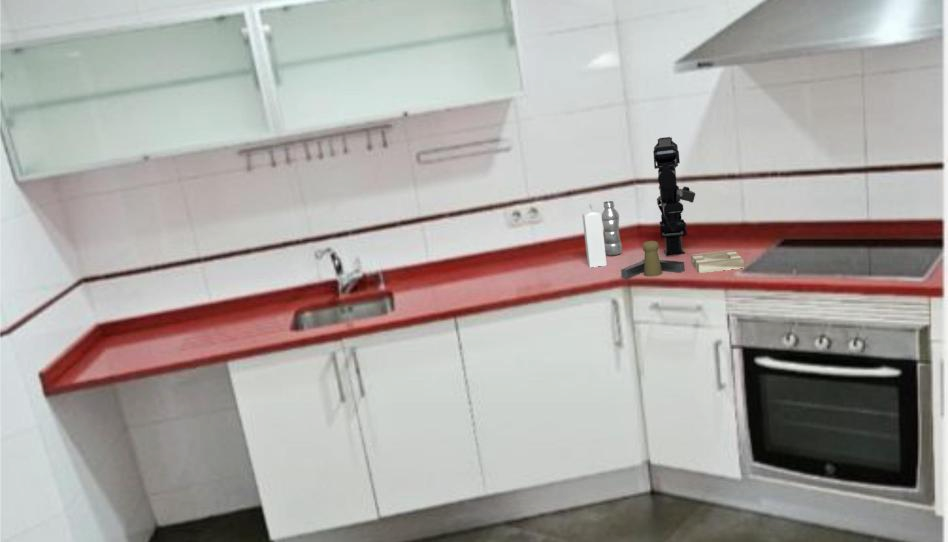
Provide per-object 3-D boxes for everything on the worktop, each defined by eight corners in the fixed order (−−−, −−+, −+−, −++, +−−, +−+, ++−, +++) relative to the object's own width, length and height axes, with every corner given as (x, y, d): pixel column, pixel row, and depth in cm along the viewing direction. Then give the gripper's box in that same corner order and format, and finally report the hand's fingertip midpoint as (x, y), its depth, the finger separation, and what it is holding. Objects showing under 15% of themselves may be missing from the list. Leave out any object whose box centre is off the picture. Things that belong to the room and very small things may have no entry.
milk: (590, 268, 287) (582, 207, 282) (587, 264, 293) (580, 204, 288) (607, 265, 287) (600, 204, 282) (604, 262, 293) (597, 202, 288)
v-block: (619, 270, 278) (618, 262, 277) (679, 263, 275) (679, 255, 275) (622, 279, 267) (621, 270, 266) (685, 272, 264) (684, 263, 264)
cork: (661, 270, 270) (658, 238, 268) (663, 275, 265) (660, 242, 262) (642, 272, 271) (639, 240, 269) (644, 277, 265) (641, 244, 263)
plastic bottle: (609, 252, 306) (604, 200, 302) (625, 252, 302) (620, 200, 298) (601, 256, 301) (596, 204, 297) (618, 257, 297) (612, 203, 293)
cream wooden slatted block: (691, 263, 274) (691, 254, 273) (734, 258, 272) (733, 249, 272) (699, 273, 260) (698, 264, 260) (744, 268, 259) (743, 259, 258)
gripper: (697, 183, 262) (700, 230, 266) (687, 176, 280) (691, 220, 284) (662, 188, 263) (666, 235, 267) (654, 180, 281) (658, 224, 285)
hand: (671, 228), depth 276 cm, fingers open, 9 cm apart
